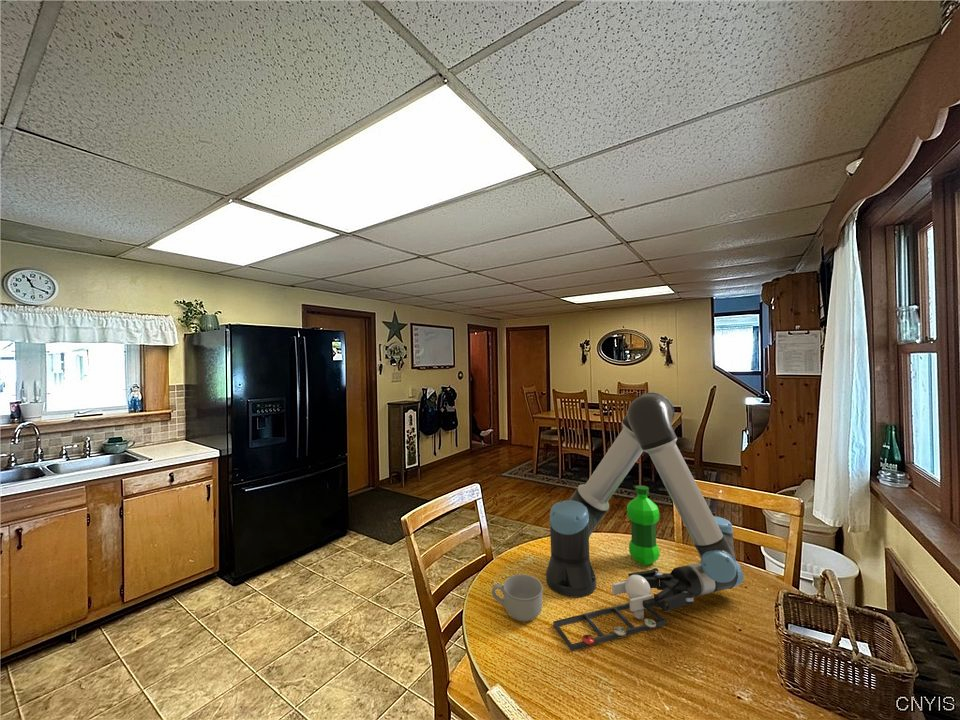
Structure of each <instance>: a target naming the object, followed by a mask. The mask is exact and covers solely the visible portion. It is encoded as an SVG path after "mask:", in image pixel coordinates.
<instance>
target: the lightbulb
mask: <svg viewBox="0 0 960 720" xmlns="http://www.w3.org/2000/svg"><path fill="white" fill-rule="evenodd" d="M651 589H652V588H650V585H649V583H648V581H647V580H646V579H645V578H644V577H642V576H640V575H631V576H629V577H628V576H627V578H626V582H625V590H626V595H627V596H628V597H629V600H630V599H632V598H636V597H640V596H645V595H649V594H651V595H652V593H651V592H652V591H651ZM632 615H633V617H634V618H636V619H637V620H643V619H644V618H645V608H644V609H640V610H636V611H632Z"/></svg>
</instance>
